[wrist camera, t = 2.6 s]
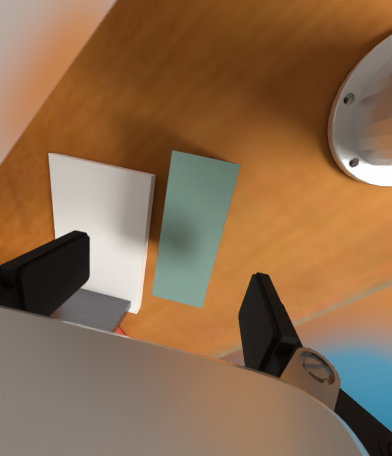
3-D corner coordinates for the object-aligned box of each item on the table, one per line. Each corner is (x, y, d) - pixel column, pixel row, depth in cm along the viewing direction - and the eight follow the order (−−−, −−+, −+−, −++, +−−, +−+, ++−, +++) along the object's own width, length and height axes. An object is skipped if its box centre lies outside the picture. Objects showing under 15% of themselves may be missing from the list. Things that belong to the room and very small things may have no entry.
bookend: (131, 301, 27) (82, 376, 17) (130, 307, 27) (82, 384, 18) (65, 284, 27) (-16, 348, 18) (66, 290, 28) (-13, 357, 18)
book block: (232, 162, 20) (240, 164, 12) (208, 257, 25) (201, 308, 16) (192, 154, 21) (172, 150, 12) (175, 249, 25) (151, 295, 16)
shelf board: (156, 174, 22) (151, 175, 20) (140, 306, 29) (136, 313, 27) (59, 153, 22) (48, 152, 21) (67, 287, 29) (60, 293, 28)
